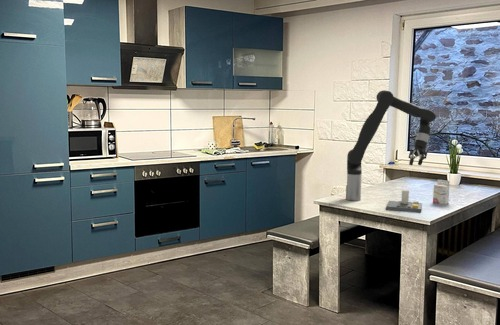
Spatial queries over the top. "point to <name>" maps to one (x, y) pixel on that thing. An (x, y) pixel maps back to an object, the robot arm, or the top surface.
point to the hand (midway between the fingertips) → (415, 164)
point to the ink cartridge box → (441, 192)
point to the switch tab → (405, 196)
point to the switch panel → (404, 206)
